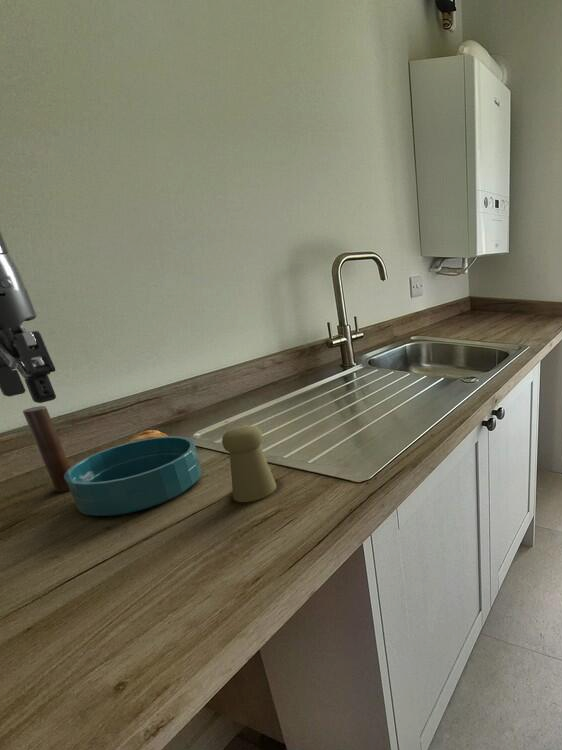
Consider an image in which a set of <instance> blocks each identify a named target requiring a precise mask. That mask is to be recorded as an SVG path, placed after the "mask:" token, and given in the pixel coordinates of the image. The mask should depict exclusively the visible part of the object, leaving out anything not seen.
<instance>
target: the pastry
mask: <svg viewBox="0 0 562 750" xmlns="http://www.w3.org/2000/svg"><path fill="white" fill-rule="evenodd" d="M168 436H169V435H168V434H166V433H164V432H161V431H159V430H157V429H154V430H152V429H149V430H143V431H141V432H139V433H138V434H134V435H133V436H132V437H131V438H130V439H129V440H128V443H130V442H134V441H139V440H144V439H150V438H156V437H168Z"/></svg>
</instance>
